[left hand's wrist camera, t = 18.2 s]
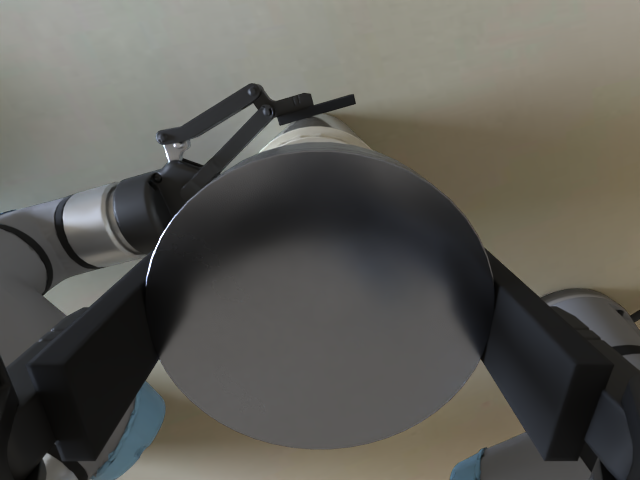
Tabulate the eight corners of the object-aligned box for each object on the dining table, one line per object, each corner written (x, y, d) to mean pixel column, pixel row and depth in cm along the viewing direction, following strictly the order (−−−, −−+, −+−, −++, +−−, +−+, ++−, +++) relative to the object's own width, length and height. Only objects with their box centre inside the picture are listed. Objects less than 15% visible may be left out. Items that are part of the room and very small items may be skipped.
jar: (311, 93, 36) (305, 89, 18) (377, 153, 38) (431, 203, 20) (257, 163, 38) (204, 221, 20) (322, 215, 40) (325, 309, 22)
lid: (286, 443, 15) (282, 488, 13) (104, 258, 12) (67, 285, 10) (517, 328, 13) (548, 364, 11) (371, 65, 10) (382, 58, 8)
